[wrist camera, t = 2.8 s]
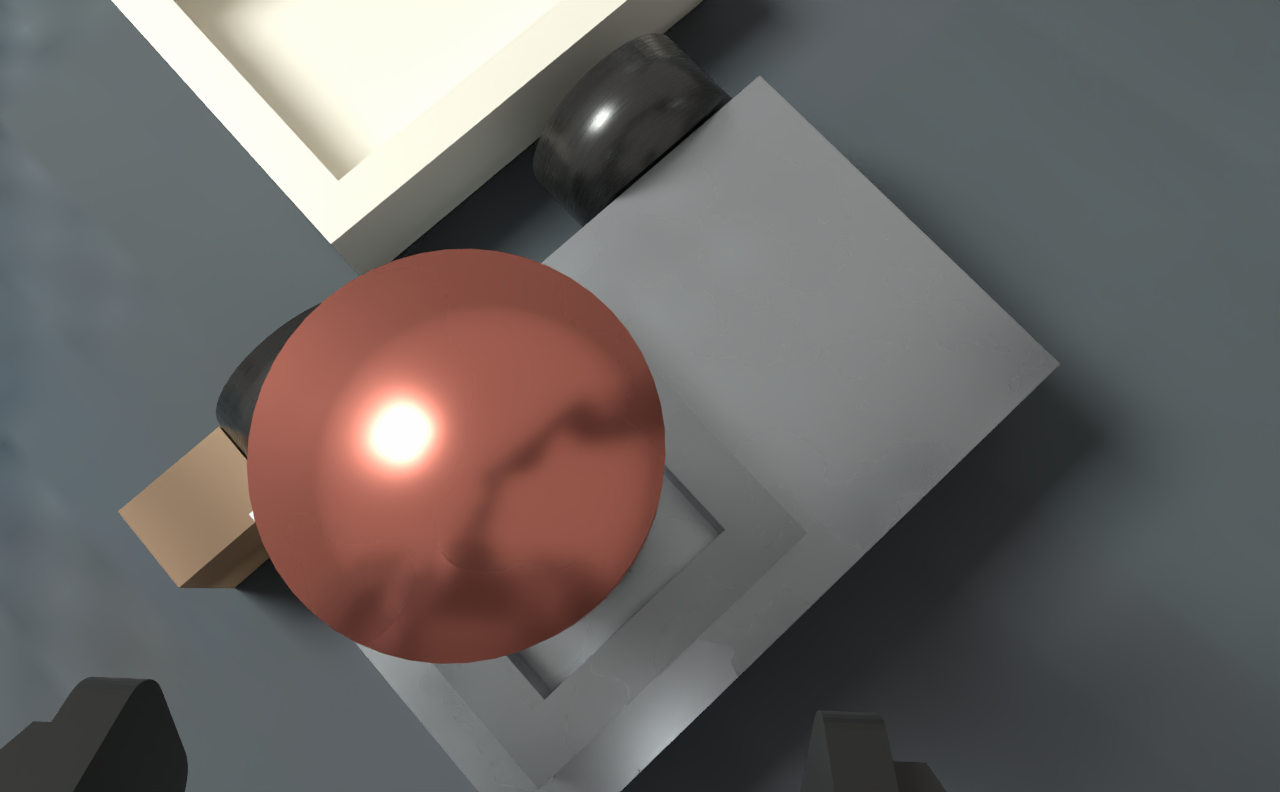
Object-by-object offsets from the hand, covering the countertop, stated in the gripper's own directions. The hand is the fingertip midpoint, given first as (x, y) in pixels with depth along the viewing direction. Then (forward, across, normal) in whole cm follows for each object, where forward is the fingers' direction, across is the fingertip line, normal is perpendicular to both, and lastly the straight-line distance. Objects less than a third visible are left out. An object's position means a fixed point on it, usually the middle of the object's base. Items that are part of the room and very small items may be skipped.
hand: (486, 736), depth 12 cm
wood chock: (+12, +9, +7) cm, 16 cm away
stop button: (+9, 0, +4) cm, 10 cm away
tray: (+22, +6, -4) cm, 24 cm away
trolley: (+14, -1, +5) cm, 15 cm away
